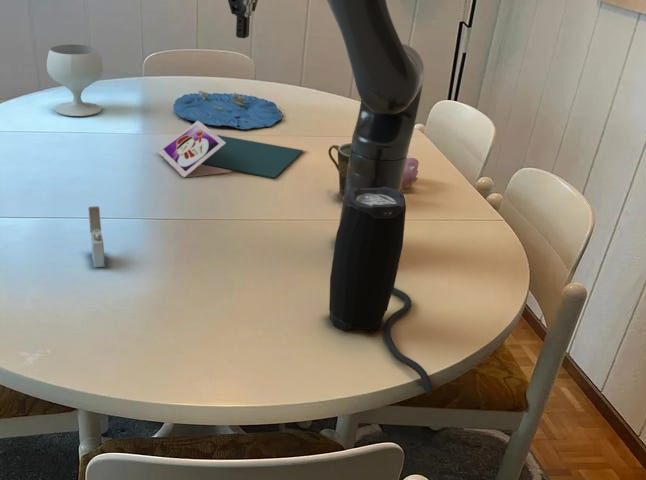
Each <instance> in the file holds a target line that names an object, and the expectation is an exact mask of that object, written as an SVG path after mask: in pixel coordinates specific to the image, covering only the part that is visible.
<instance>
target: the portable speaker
mask: <svg viewBox="0 0 646 480" xmlns="http://www.w3.org/2000/svg"><path fill="white" fill-rule="evenodd" d="M347 197H348V198H347ZM346 199H347V203H346V205H345V208H344V212H343V215H342V218H341V221H340V220H339V224H340V225H338V227H337V232H336V236H335V241H334V250H333V255H332V256H333V257H332V263H331V268H330V269H331V270H330V276H329V303H328V304H329V307H328V310H329V320H330V322H331V324H332V326H334V327H335V328H336V329H339V330H341V331H343V332H347V331H349V330H350V329H359V330H360V329H362V330H368V331H369V332H370V333H375V332H377V331H379V329H380V328H381V327H382V324H383V320H384V317H385V315H386V312H387V311H388V308H389V305H390V300H391V297H392V295H393V294H392V292H393V289H394V288H395V283H396V279H397V274H398V269H399V265H400V260H401V256H402V251H403V246H404V238H405V237H404V235H405V224H406V223H405V222H406V210H407V204H406V197H405V195H404V193H403V192H401V191H400V192H399V191H398V190H396V189H392V188H388V187H380V188H354V187H353V188H352V189H350V190H349V192H348V194H347V196H346Z"/></svg>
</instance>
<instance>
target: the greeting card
mask: <svg viewBox="0 0 646 480" xmlns="http://www.w3.org/2000/svg"><path fill="white" fill-rule="evenodd" d="M217 135H218V134H216V133H214V132H213V131H212V130H211V129H209V128H208V127H207V126H206V125H205V124H203V123H201V122H200V121H197V122H194V123H192V125H190V126H189V127H187V129H186V130H184V131H183V132H182V133H181V134H180V135H178V136H177V137H176V138H175V139H174V140H172V141H171V142H170V143H169V144H167V145H166V146H165V147H163V148H162V149H161V150H160V151H159V152H158V154H159V155H160V156H161V157H162V158H164V160H165V161H166V162H167V163H169V164H170V165H171V167H173V169H175V171H177V172H178V173H179V174H180V176H182V177H183V178H193V177H201V176H209V175H216V174H225V173H234V171H231V170H227V169H222V168H217V167H213V166H208V165H203V164H201V163H203V162H204V161H205V160H206V159H207V158H209V157H210V156H211V155H212V154H213V153H215V152H216V151H217V150H218V149H219V148H221V147H222V146H223V145H224V144H225V143H226V142H224V141H223V140H222V139H221V138H219V137H218V136H217Z"/></svg>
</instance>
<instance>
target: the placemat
mask: <svg viewBox="0 0 646 480" xmlns="http://www.w3.org/2000/svg"><path fill="white" fill-rule="evenodd" d="M216 135H217V136H218V137H219V138H221V139H222V140H223V141H224V142H226V143H225V144H224V145H223V146H222V147H221V148H219V149H218V150H217V151H216V152H215V153H213V154H212V155H211V156H210V157H209V158H207V159H206V160H205V161H204V162H203V163H201V164H203V165H208V166H213V167H217V168H222V169H227V170H231V171H233V172H236V173H241V174H245V175H246V174H247V175H251V176H257V177H261V178H262V177H263V178H267V179H273V180H276V179H277V177H279V176H280V175H281V174H282V173H283V172H284V171H285V170H286V169H287V168H288V167H289V166H290V165H291V164H292V163H293V162H295V160H297V158H299V157H300V156H301V154H303V153H304V150H303V149H298V148H293V147H292V148H291V147H285V146H279V145H276V144H271V143H270V144H269V143H264V142H257V141H252V140H247V139H241V138H237V137H230V136H224V135H218V134H216Z"/></svg>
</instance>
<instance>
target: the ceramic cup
mask: <svg viewBox="0 0 646 480" xmlns="http://www.w3.org/2000/svg"><path fill="white" fill-rule="evenodd" d="M351 143H352V142H348V143H344V144H341V145H337V144H333V145H331V146H329V149H328V156H329V158H330V160H331V161H332V163H333V164H334V166H335V168H336V170H337V171H338V180H339V181H338V183H339V187H338V188H339V198H340V200H341V202H343V197H344V190H345V183H346V176H347V170H348V163H349V157H350V150H351ZM333 149H334V150H336V151H337V161H336V159H335V158H334V156H333V154H332V150H333Z"/></svg>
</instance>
